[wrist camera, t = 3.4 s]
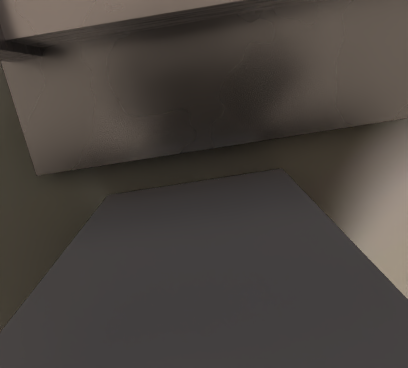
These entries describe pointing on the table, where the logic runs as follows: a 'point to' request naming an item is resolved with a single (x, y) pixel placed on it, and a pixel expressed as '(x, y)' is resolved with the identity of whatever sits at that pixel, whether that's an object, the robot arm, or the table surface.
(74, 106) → the rail
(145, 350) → the grey slider block
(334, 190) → the table surface
